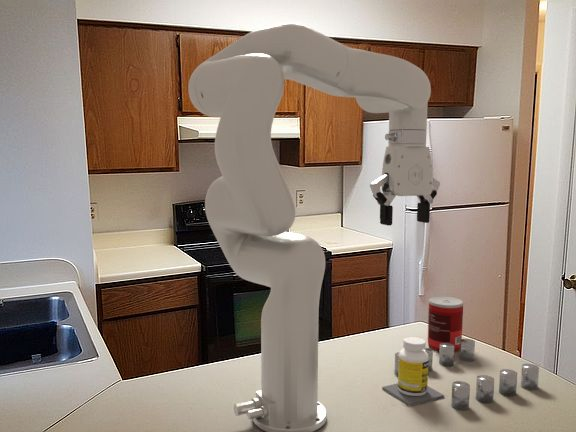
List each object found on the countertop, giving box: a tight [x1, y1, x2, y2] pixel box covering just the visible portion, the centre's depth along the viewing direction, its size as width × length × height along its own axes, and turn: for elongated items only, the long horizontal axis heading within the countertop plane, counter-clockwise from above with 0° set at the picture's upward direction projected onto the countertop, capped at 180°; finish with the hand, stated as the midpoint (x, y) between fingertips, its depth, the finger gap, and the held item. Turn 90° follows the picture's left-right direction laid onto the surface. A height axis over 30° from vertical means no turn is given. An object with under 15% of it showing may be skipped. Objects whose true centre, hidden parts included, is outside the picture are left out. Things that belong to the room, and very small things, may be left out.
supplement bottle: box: [397, 336, 429, 396], centre depth 100 cm, size 5×5×10 cm
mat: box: [381, 382, 445, 407], centre depth 101 cm, size 8×8×1 cm
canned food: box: [427, 295, 464, 353], centre depth 125 cm, size 8×8×11 cm
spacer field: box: [394, 338, 540, 411], centre depth 106 cm, size 21×19×4 cm
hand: (404, 223), depth 111 cm, fingers open, 9 cm apart
